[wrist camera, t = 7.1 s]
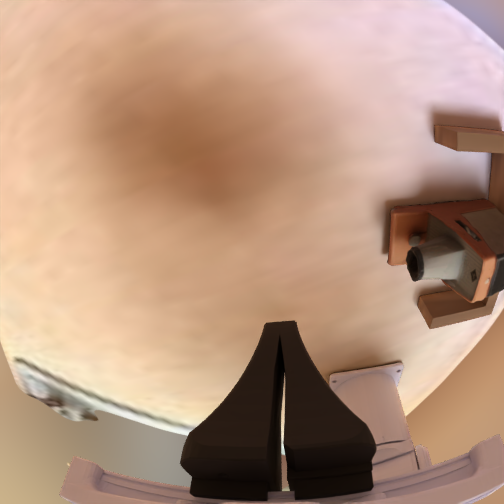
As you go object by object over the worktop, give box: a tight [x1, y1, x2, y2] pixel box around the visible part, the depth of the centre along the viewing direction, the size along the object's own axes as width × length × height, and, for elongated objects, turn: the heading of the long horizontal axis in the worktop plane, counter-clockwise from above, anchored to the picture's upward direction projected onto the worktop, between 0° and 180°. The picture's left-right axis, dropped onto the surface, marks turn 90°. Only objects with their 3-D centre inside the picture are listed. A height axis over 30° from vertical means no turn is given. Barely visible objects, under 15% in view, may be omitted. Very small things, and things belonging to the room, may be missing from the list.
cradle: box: [418, 125, 504, 329], centre depth 18 cm, size 15×7×3 cm, turn 9°
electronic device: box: [387, 199, 504, 303], centre depth 17 cm, size 4×10×8 cm, turn 100°
